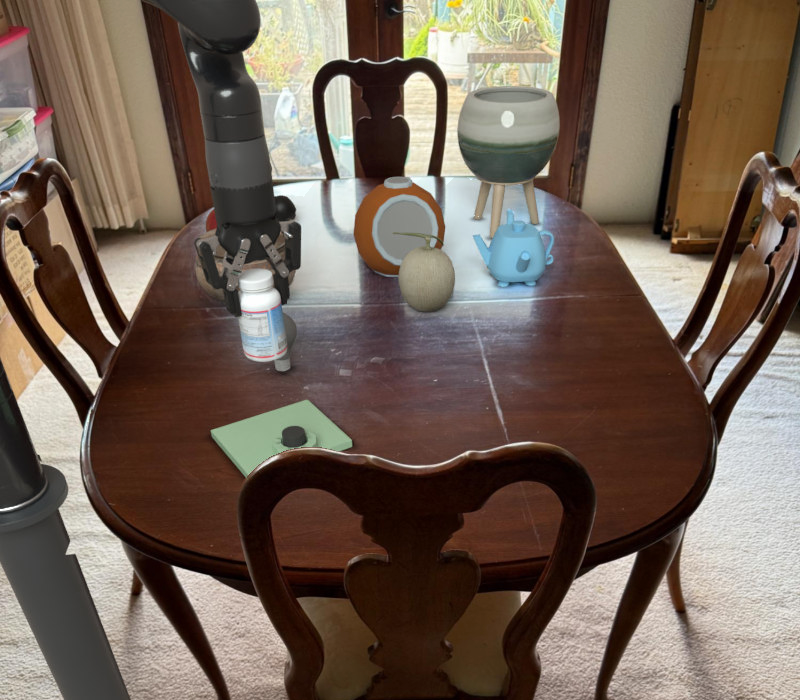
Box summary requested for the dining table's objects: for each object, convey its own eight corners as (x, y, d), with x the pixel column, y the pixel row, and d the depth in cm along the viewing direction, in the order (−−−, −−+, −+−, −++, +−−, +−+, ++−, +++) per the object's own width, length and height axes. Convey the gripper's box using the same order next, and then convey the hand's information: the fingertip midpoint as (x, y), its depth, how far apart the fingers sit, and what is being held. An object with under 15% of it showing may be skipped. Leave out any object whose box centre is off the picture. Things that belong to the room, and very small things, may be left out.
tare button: (289, 451, 107) (287, 440, 106) (279, 440, 109) (277, 430, 108) (310, 444, 109) (308, 433, 108) (299, 433, 111) (298, 423, 110)
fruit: (466, 303, 151) (469, 223, 141) (434, 324, 143) (435, 242, 134) (421, 291, 155) (421, 214, 146) (388, 312, 148) (385, 232, 139)
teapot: (463, 278, 160) (465, 222, 153) (505, 260, 167) (509, 205, 160) (522, 299, 152) (527, 240, 144) (564, 279, 159) (571, 222, 152)
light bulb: (296, 379, 128) (289, 322, 122) (261, 377, 129) (252, 320, 123) (305, 362, 133) (299, 306, 127) (271, 360, 134) (263, 304, 127)
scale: (253, 487, 106) (250, 468, 104) (211, 437, 115) (208, 419, 113) (356, 450, 112) (354, 432, 110) (308, 405, 122) (306, 388, 120)
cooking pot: (209, 280, 162) (198, 220, 154) (300, 275, 163) (294, 215, 155) (195, 332, 143) (181, 266, 135) (298, 327, 144) (291, 261, 136)
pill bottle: (272, 339, 112) (262, 262, 105) (296, 354, 109) (287, 275, 101) (235, 352, 109) (222, 274, 102) (258, 368, 106) (246, 287, 98)
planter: (454, 212, 193) (457, 84, 175) (544, 211, 192) (556, 83, 174) (455, 243, 176) (459, 106, 158) (554, 243, 175) (569, 104, 157)
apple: (241, 249, 176) (235, 212, 171) (205, 249, 176) (199, 213, 171) (246, 237, 182) (241, 201, 177) (212, 238, 182) (206, 202, 177)
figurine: (265, 193, 182) (269, 181, 197) (262, 223, 185) (266, 209, 200) (298, 200, 183) (299, 188, 198) (294, 230, 186) (295, 215, 202)
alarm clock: (362, 286, 158) (357, 197, 147) (349, 255, 171) (344, 171, 160) (453, 277, 161) (456, 189, 150) (434, 248, 174) (435, 165, 163)
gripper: (280, 160, 99) (294, 287, 110) (172, 179, 94) (198, 312, 104) (307, 173, 94) (319, 305, 105) (195, 194, 89) (219, 332, 99)
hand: (259, 308), depth 105 cm, fingers closed on pill bottle, 6 cm apart
